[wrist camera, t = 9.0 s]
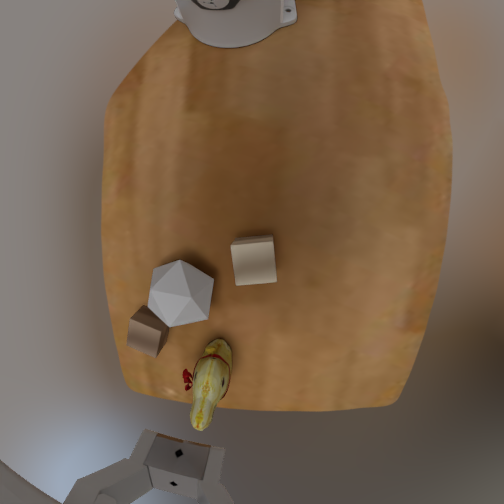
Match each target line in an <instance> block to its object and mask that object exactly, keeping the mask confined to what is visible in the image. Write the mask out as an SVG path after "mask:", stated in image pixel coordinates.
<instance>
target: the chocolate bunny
mask: <svg viewBox="0 0 504 504" xmlns="http://www.w3.org/2000/svg"><path fill="white" fill-rule="evenodd" d="M198 361H199V362H198ZM198 361H197V363H198V364H197V363H196V366H195V368H194V372H193V378H192V375H191V373H190V372H188V371H187V369H185V370H184V371H183V378H184V383H188V384H187V385H186V387H185V390H186V391H187V390H189V389H190V388H191V387H192V386H193V404H192V408H191V412H190V419H191V423H192V425H193V427H194V428H196V429H197V430H201V431H203V429H204V428H206V427H208V426H209V424H210V423H211V422H212V418H213V413H214V410H215V408H216V406H217V403H218V402H219V401H220V400H221V399H222V398H223V397H224V396H225V394H226V393H227V391H226V390H228V388H227V387H229V384H228V383H230V376H231V371H232V352H231V349H230V346H229V345H228V344H227V343H226V342H225V341H224V340H222V339H216V340H214V341H212V342H210V343H209V344H208V345H207V346H206V348H205V352H204V354H203V356H202V357H201V358H200V359H199V360H198ZM189 376H190V377H191V378H192V380H193V382H191V380H190V378H189ZM189 383H191V384H192V386H191V387H190V386H189ZM225 392H226V393H225ZM224 393H225V394H224Z"/></svg>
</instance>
